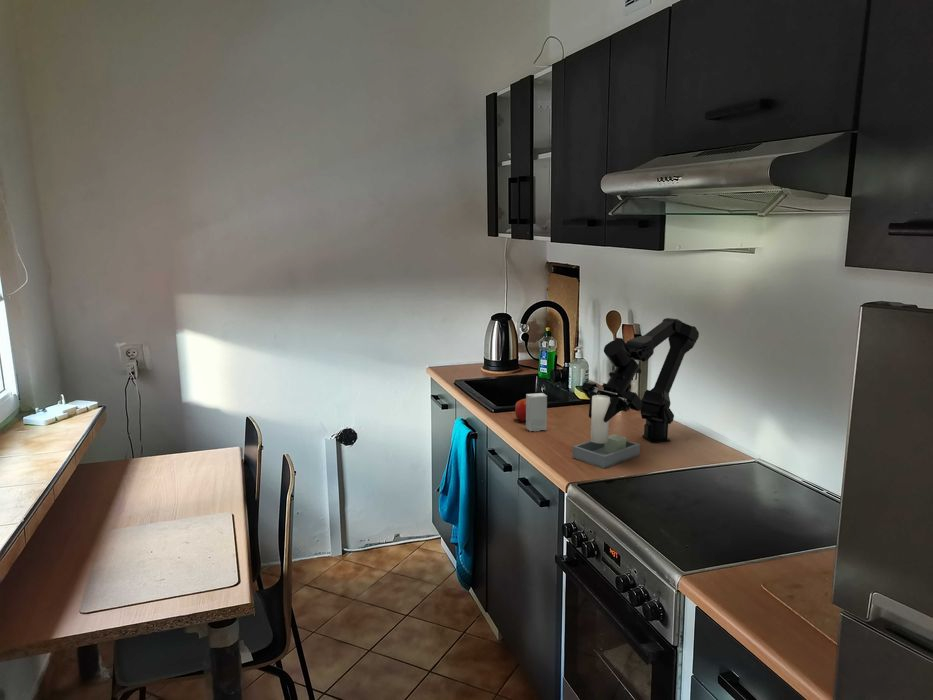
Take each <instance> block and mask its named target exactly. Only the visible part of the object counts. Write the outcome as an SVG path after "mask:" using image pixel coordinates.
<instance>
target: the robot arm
mask: <svg viewBox="0 0 933 700" xmlns="http://www.w3.org/2000/svg"><path fill="white" fill-rule="evenodd" d="M699 332H700V331H699V330H698V329H697V327H696V326H694V325H690V324H687V323H686V322H683V321H682V320H680V319H678V318H672V317H671V318H669V317H666V318H663V320H662V321H661V322H660V323H658V324H657V325H656V326H655V327H653V328H652V329H650V331H648V332H647V333H645V334H644V335H642V336H637V337H633V338H631V339H629V340H627V341H626V342H625V340H624V338H623V337H616V338H615V340H612V341H610V342H608V343H607V344H605V345H604V347H603V353H604V354H605V356H606V357H607V359H608V360H609V361H610V363H611V364H612V366H613V367H615V369H614V370H613V372H612V371H610V372H609V373H608V376H609V379H608V381H607V382H606V383H604V382H603V384H602V388H603V389H600V388H599V386H598V385H597V384H596V383H593V382H589V381H584V382H583V383H582V384H581V386H580V390H581V391H582V392H583V393H584V394H585V396H586V397H587V398H588V399H589V409H588V418H590V419H591V415H592V396H594V395H605V396H609V397H610V405H609V408H608V410H607V412H606V414H605V417H604V422H607V421H609V422H610V420H611V419H613V417H615V416H616V415H617V414H619V413H620V412H622V411H623V412H625V413H626V412H627V411H630V410H632V411H637V412H640V414H641V415H640V417H641V419H642V420H645V424H644V425H643V434H642V437H643V438H644V439H646V440H647V441H649V442H650V443H661V442H670V441H671V438H669V437H668V434H669V425H670V424H672V423H673V421H674V418H675V414H674V413H673V411H672V409H671V408H670V407H671V399H670V392H671V390H672V388H673V386H674V385H673V384H674V382H675V380H676V377H677V375H678V373H679V370H680V367H681V364H682V362H683V360H684V357H685V355H686V354H687V353H688V352H689V351H690V350H692V349H693V348H694V347H695V345H696V343H697V341H698V340H699V336H700V333H699ZM666 340H668V344H669V350H668V352H667V355H666V357H665V359H664V362H663V364H662V367H661V369H660V371H659V374H658V377H657V379H656V381H655V384H654V386H653V388H652V389H646V390H645V391H644V393H643V396H642V398H640V397H639V395H638V393H637V392H634V391H631V389H632V388H631V387H632V385H631V383H632V381H633V379H634V377H635V375H636V374H640V375H641V374H642V369H641V364H639V363H637V361H638V362H643V363H644V362H647V361H648V360H649V359H650V358H651V357H652V356H653V355H654V353H655V352H654V351H655V348H656V347H658V346H659V345H660V344H662V343H663V342H664V341H666Z"/></svg>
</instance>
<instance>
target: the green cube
mask: <svg viewBox="0 0 933 700" xmlns="http://www.w3.org/2000/svg"><path fill="white" fill-rule="evenodd" d="M609 435H610V436H608V442H607V443H604V452H607V453H612V452H615V451H618V450H621V449H624V448H626V440H627V436H626V437H625V436H622V435H620V434H616V433H613V434H609Z"/></svg>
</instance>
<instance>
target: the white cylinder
mask: <svg viewBox="0 0 933 700" xmlns="http://www.w3.org/2000/svg"><path fill="white" fill-rule="evenodd" d="M610 403H611V402H610V397H609V396H605V395H594V396H592V415H591V418H590V441H592V442H594V443H607V442H608V435H609V430H610V429H609V427H610V420H609V421H607V422H604V417H605V414H606V412H607V410H608V408H609V405H610Z"/></svg>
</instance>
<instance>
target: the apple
mask: <svg viewBox="0 0 933 700" xmlns="http://www.w3.org/2000/svg"><path fill="white" fill-rule="evenodd" d="M514 409H515V410H514V411H515V417H516V419H518V420H519V421H521V420H522V422H525V421H526V398H523V399H522V398H521V399H520V400H518V401H516V403H515V405H514Z"/></svg>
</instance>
